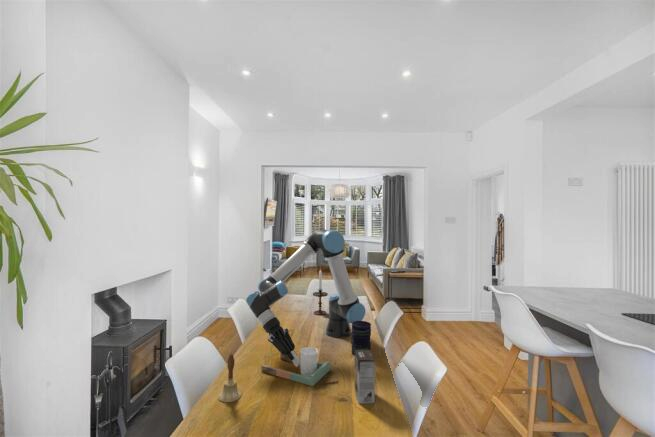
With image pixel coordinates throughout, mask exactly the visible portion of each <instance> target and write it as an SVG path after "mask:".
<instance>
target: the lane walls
mask: <svg viewBox="0 0 655 437" xmlns="http://www.w3.org/2000/svg"><path fill="white" fill-rule="evenodd" d="M280 360H282V361H286V362H291V363H293V362H292V361H291V360H290V359H289V357H288V356H287V355H286V356H285V355H282V354H281V353H280ZM277 369H278V368H277V367H273V366H270V365H266V364H262V365H261V372H263V373H265V374H269V375H273V376H276V370H277Z"/></svg>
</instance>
